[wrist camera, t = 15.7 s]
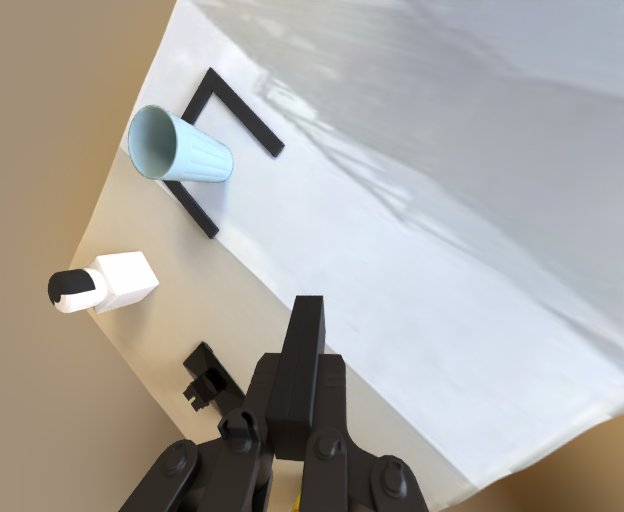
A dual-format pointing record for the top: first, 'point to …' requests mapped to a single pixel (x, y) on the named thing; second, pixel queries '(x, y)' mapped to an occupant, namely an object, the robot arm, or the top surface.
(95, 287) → the medicine bottle
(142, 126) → the cup
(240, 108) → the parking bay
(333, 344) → the top surface
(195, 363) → the build plate
